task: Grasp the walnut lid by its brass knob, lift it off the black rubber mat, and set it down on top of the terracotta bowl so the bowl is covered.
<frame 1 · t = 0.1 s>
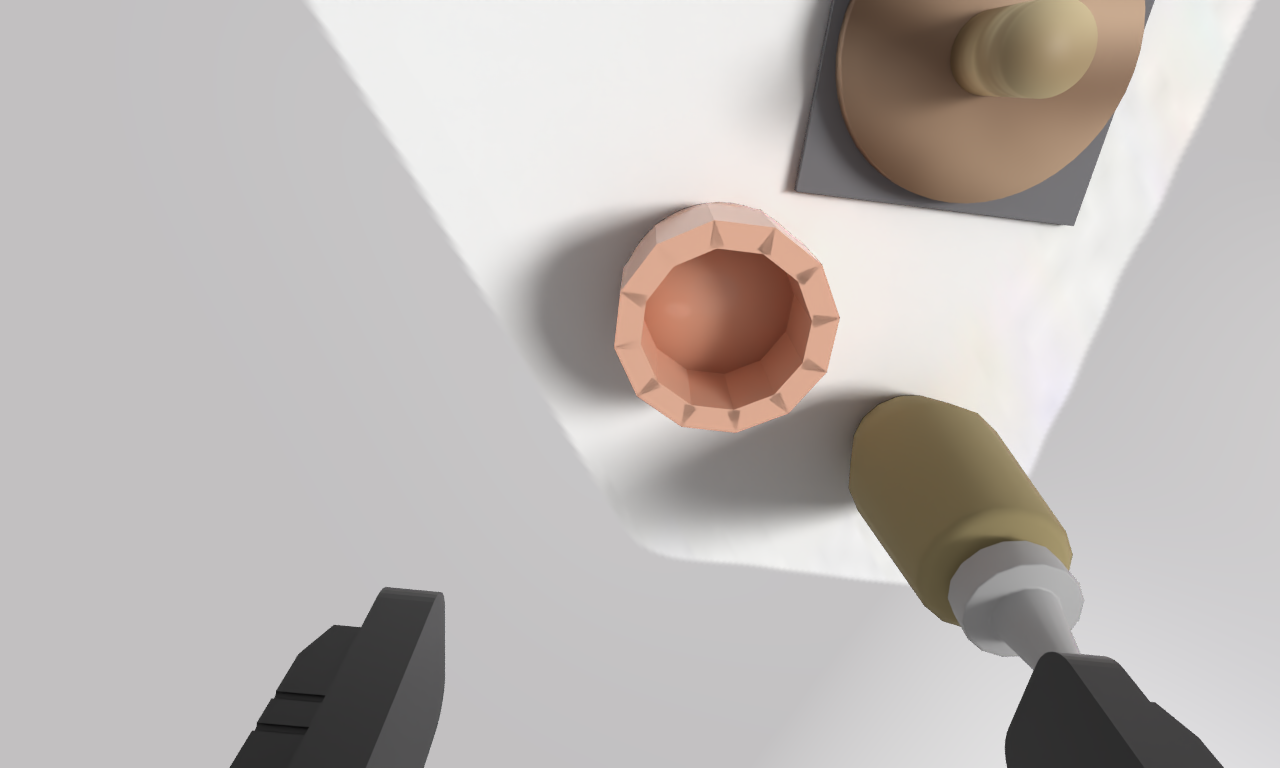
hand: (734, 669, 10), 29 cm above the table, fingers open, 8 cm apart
lid: (979, 53, 32), resting on mat
bowl: (715, 298, 38), on the table
squeeze bottle: (901, 438, 41), on the table
mat: (974, 54, 33), on the table
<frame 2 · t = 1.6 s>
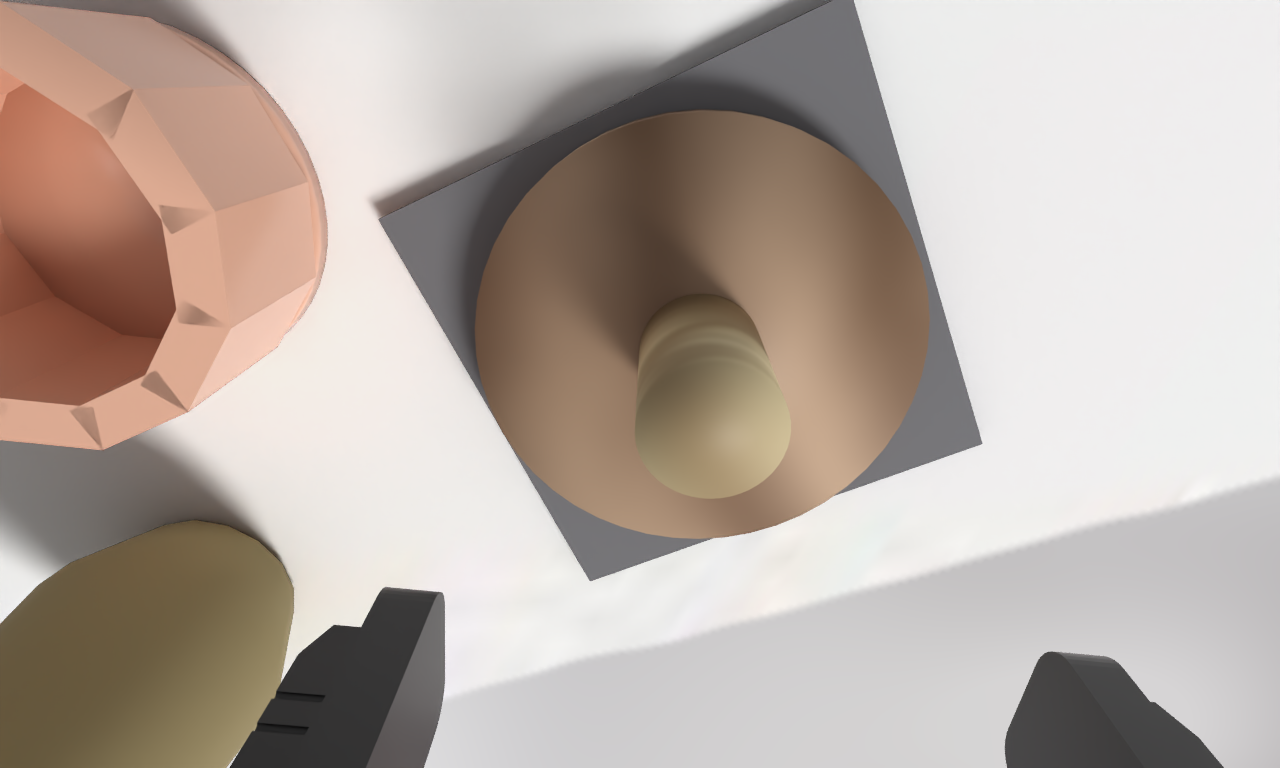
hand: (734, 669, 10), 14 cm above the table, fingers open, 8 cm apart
lid: (697, 337, 22), resting on mat
bowl: (155, 205, 21), on the table
squeeze bottle: (221, 579, 27), on the table
mat: (696, 332, 22), on the table
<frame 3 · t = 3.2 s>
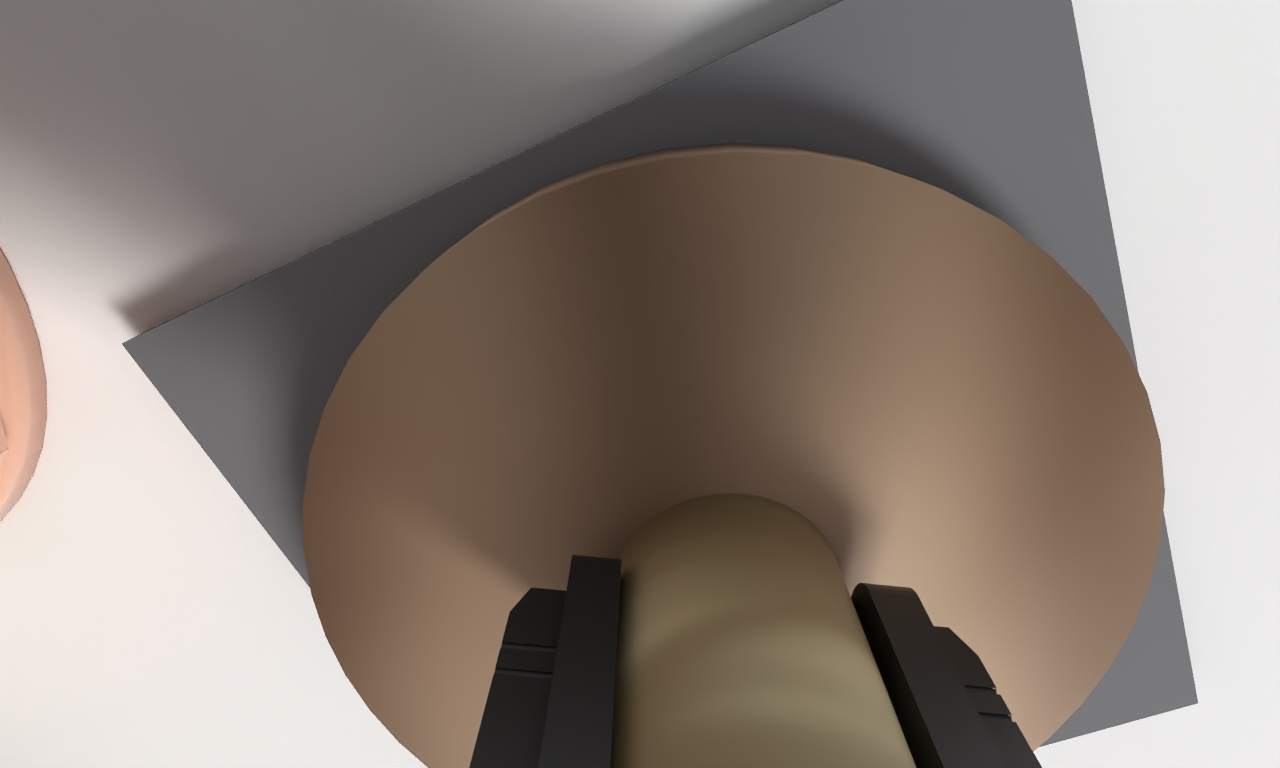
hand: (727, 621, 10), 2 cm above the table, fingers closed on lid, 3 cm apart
lid: (718, 543, 12), point 1 cm above the table, touching gripper, mat
mat: (715, 525, 13), on the table
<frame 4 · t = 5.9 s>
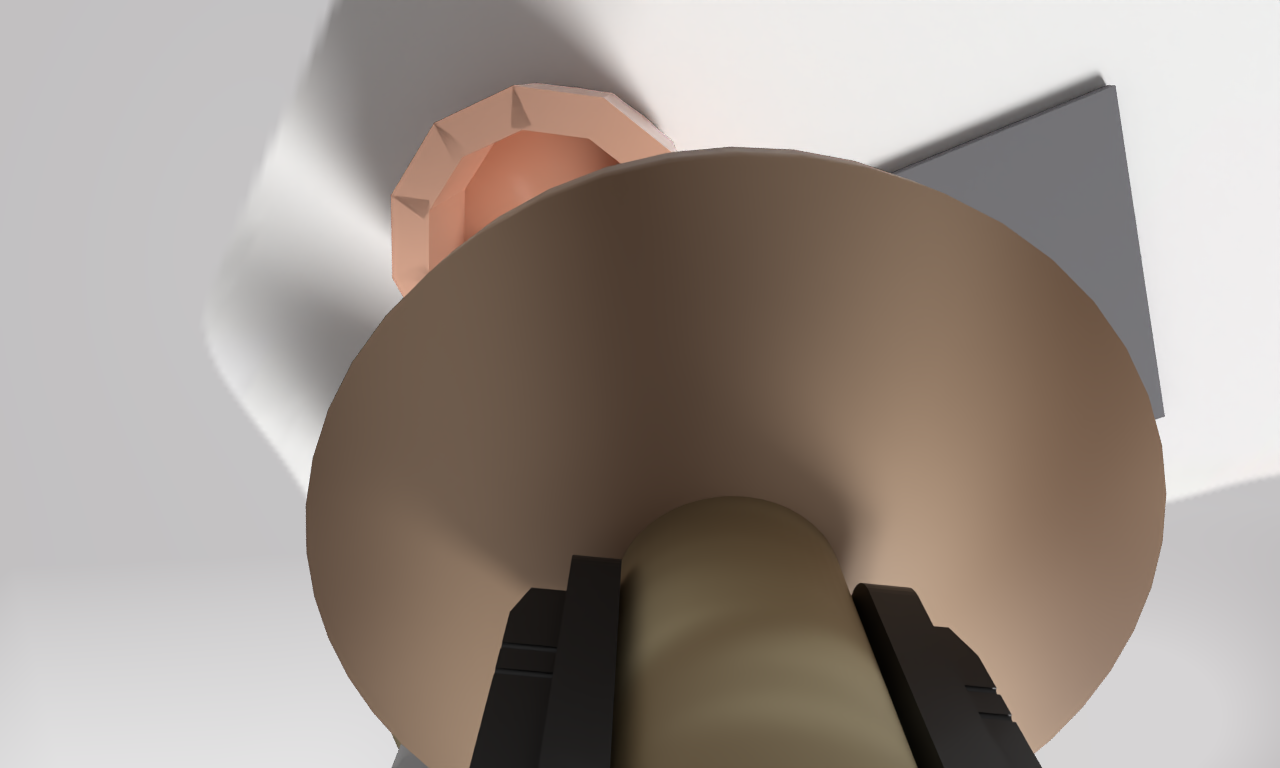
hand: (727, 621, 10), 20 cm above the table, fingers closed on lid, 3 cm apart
lid: (720, 545, 12), point 18 cm above the table, touching gripper
bowl: (567, 223, 28), on the table
squeeze bottle: (542, 514, 34), on the table
mat: (956, 327, 29), on the table
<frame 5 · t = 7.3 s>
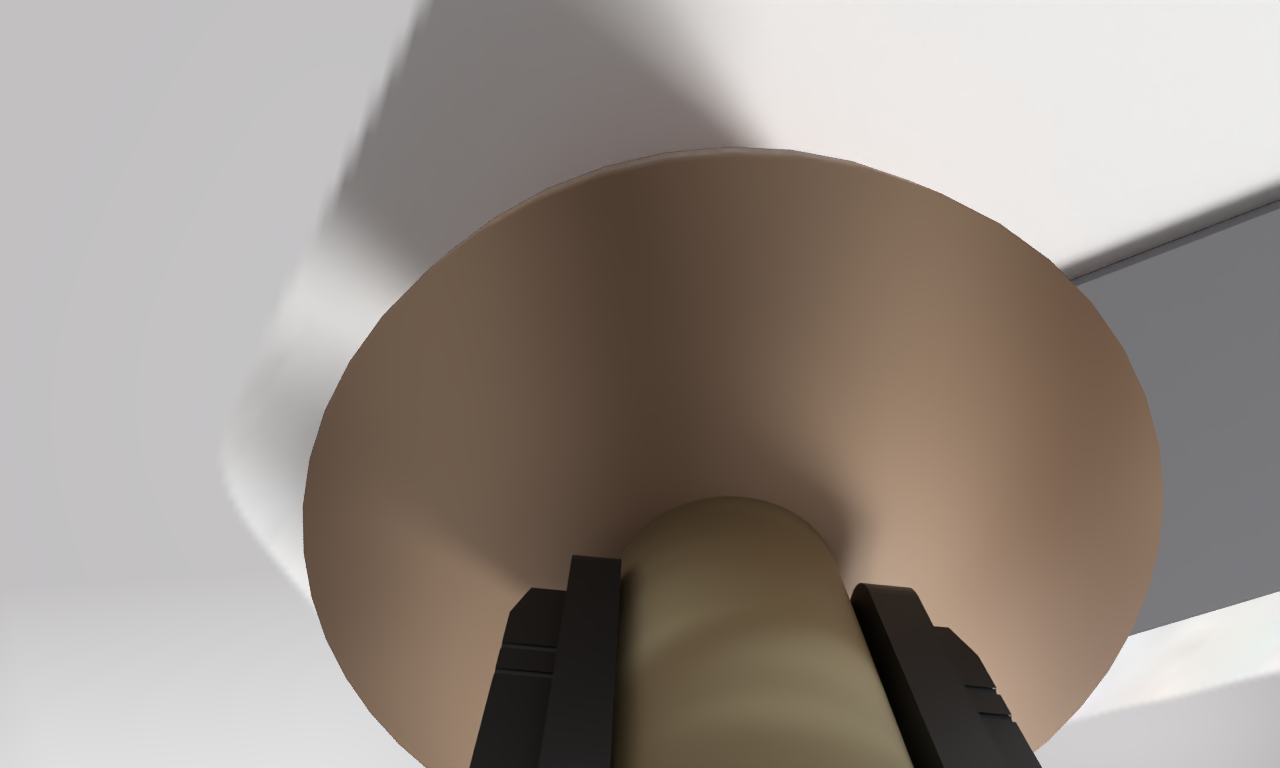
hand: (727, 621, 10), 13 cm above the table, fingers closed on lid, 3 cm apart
lid: (718, 545, 12), point 11 cm above the table, touching gripper
mat: (1167, 448, 23), on the table
when the fingers open (8 cm above the table, at t = 8.5 s): lid stays where it is, resting on bowl.
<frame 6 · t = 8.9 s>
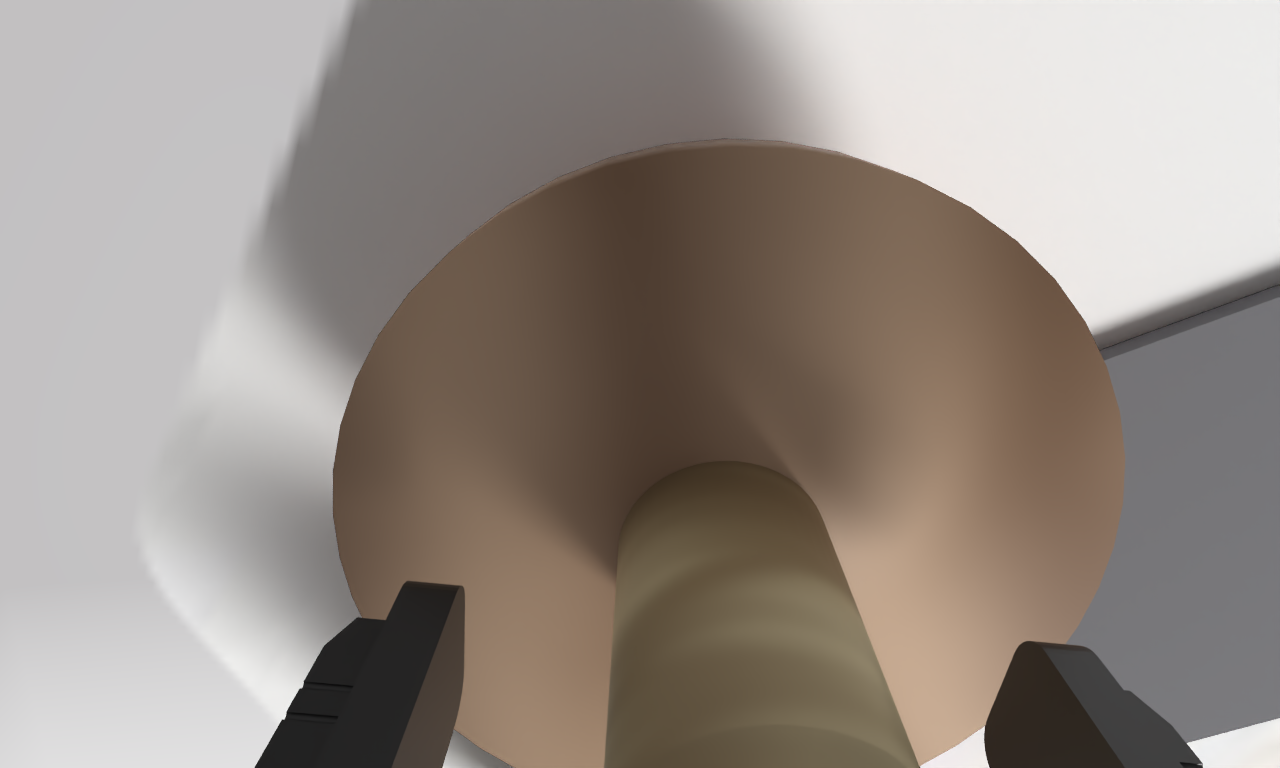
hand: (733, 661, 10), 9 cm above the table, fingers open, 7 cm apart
lid: (716, 511, 13), point 5 cm above the table, touching bowl
mat: (1272, 522, 19), on the table
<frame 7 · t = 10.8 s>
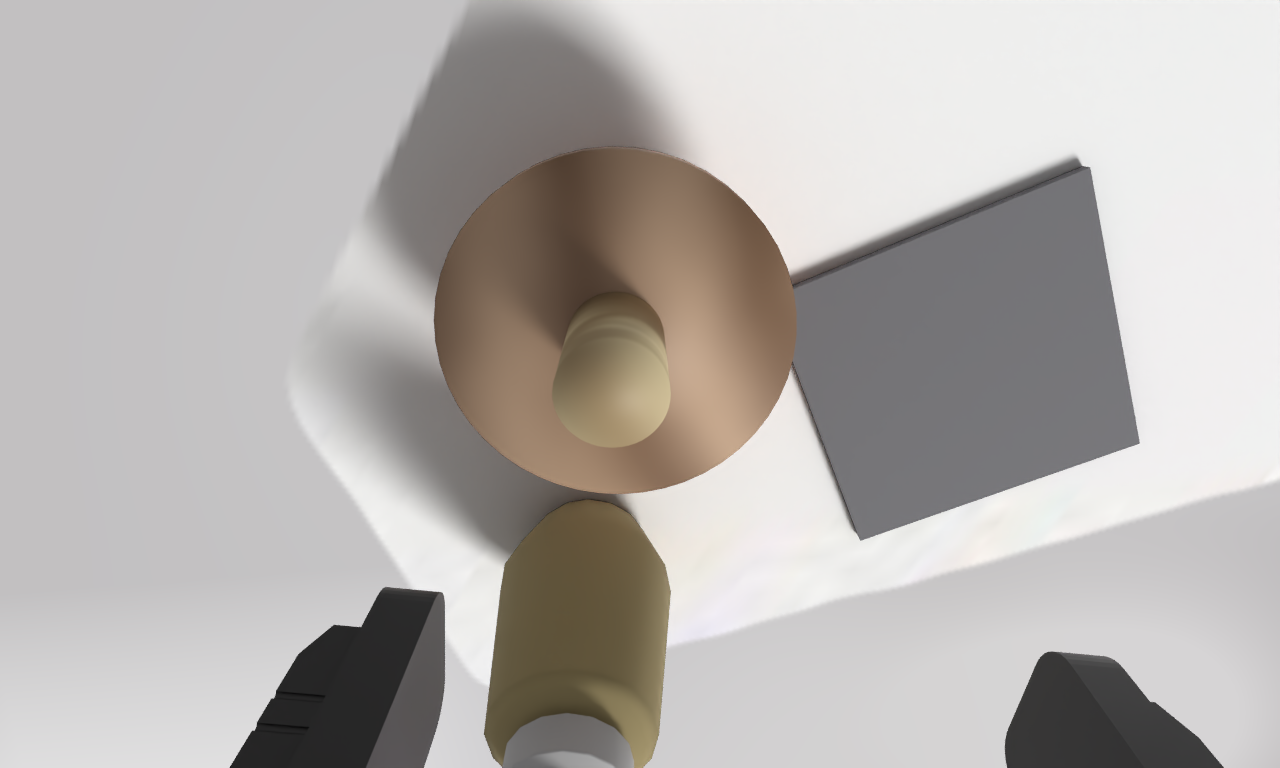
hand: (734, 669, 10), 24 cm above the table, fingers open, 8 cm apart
lid: (616, 328, 27), point 5 cm above the table, touching bowl
squeeze bottle: (590, 542, 37), on the table
mat: (958, 370, 33), on the table
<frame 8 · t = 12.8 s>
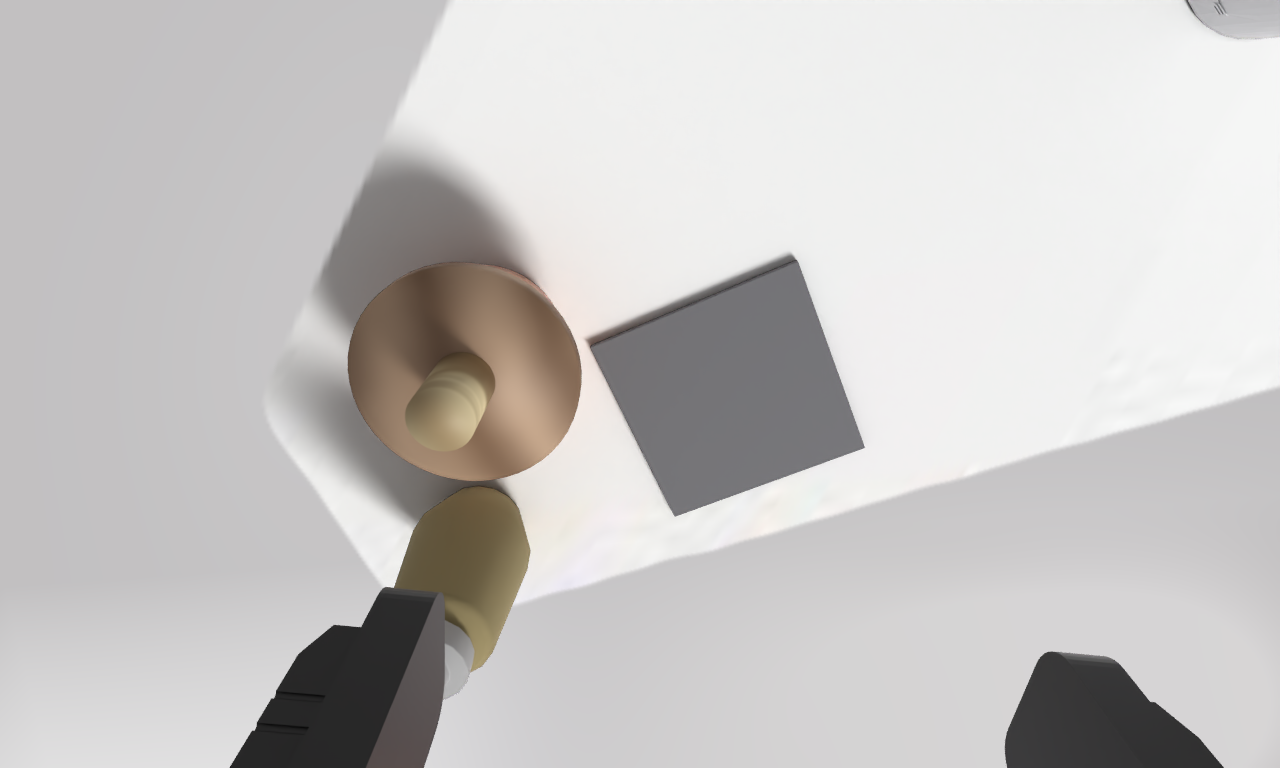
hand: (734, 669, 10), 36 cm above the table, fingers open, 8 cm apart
lid: (469, 372, 41), point 5 cm above the table, touching bowl
squeeze bottle: (483, 517, 52), on the table
mat: (730, 396, 48), on the table
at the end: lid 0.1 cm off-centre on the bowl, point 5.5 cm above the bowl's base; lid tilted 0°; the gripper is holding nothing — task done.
